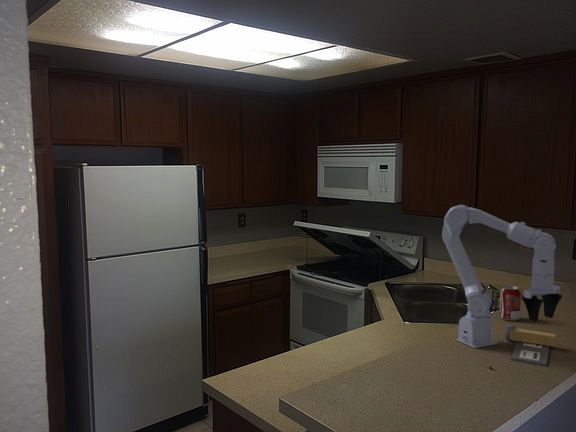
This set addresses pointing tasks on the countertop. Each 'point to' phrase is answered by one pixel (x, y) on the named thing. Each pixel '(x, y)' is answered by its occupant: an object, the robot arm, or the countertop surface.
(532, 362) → the label plate
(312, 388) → the countertop surface
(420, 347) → the countertop surface
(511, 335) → the bar
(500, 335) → the countertop surface
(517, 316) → the soda can
